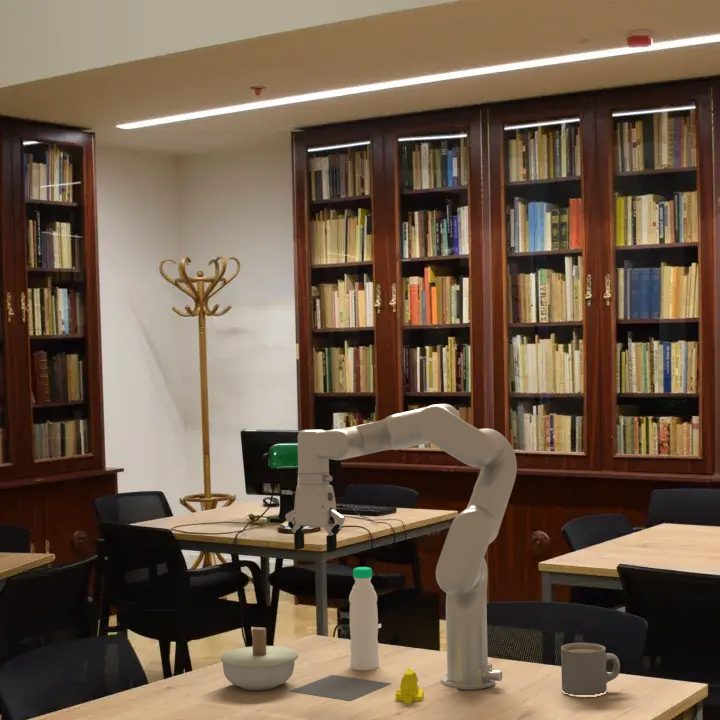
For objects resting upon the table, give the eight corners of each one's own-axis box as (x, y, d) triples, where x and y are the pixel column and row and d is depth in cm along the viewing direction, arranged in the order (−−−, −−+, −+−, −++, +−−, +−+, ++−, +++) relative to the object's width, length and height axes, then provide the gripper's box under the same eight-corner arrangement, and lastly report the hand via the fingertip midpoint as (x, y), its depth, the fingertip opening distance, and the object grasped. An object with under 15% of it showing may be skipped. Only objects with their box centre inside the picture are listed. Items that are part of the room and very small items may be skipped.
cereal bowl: (310, 686, 277) (309, 656, 277) (257, 701, 265) (257, 670, 265) (260, 675, 289) (259, 646, 289) (208, 689, 276) (207, 659, 277)
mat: (391, 686, 275) (391, 683, 275) (350, 703, 261) (350, 700, 261) (332, 677, 285) (332, 674, 285) (289, 693, 271) (289, 691, 271)
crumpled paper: (424, 697, 266) (423, 662, 266) (421, 706, 258) (420, 671, 258) (398, 696, 267) (398, 662, 267) (394, 706, 259) (393, 670, 259)
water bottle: (376, 672, 288) (373, 570, 288) (347, 672, 289) (345, 570, 290) (381, 665, 295) (379, 565, 295) (353, 665, 296) (351, 565, 297)
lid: (313, 654, 280) (312, 625, 280) (266, 670, 265) (266, 640, 265) (252, 646, 289) (252, 618, 290) (205, 661, 274) (204, 632, 274)
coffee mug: (565, 698, 261) (564, 653, 262) (559, 686, 271) (557, 643, 272) (626, 697, 261) (625, 652, 261) (617, 685, 271) (616, 642, 271)
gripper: (351, 479, 287) (353, 550, 287) (294, 477, 297) (296, 546, 296) (333, 482, 281) (335, 554, 280) (276, 480, 290) (278, 550, 290)
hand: (315, 550), depth 288 cm, fingers open, 9 cm apart
